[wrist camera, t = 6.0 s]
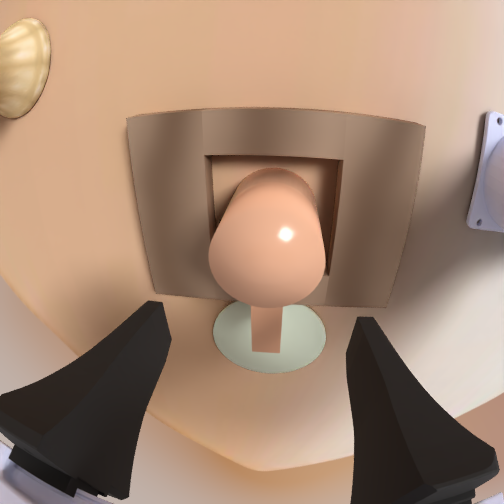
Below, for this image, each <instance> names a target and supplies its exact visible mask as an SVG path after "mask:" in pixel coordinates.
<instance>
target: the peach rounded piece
mask: <svg viewBox="0 0 504 504" xmlns="http://www.w3.org/2000/svg"><path fill="white" fill-rule="evenodd" d="M208 255H209V265H210V269H211V272H212V274H213V276H214V278H215V280H216V281H217V283H218V284H219V285H220V287H221V288H222V289H223V290H224V291H225V292H227V293H228V294H229V295H230V296H232V297H233V298H235V299H237V300H238V301H240V302H243V303H245V304H248V305H251V336H252V352H266V353H280V343H281V329H282V314H283V307H284V306H288V305H291V304H294V303H296V302H299V301H300V300H302V299H304V298H305V297H307V296H308V295H309V294H310V293H311V292H312V291H313V290H314V289H315V288H316V287H317V285H318V284H319V282H320V281H321V279H322V276H323V274H324V270H325V261H326V259H325V251H324V245H323V239H322V233H321V228H320V222H319V217H318V211H317V206H316V201H315V197H314V194H313V192H312V190H311V188H310V187H309V185H308V184H307V183H306V182H305V181H304V180H303V179H302V178H301V177H300V176H298V175H297V174H295V173H293V172H291V171H288V170H285V169H281V168H266V169H261V170H258V171H256V172H253V173H252V174H250V175H248V176H247V177H246V178H245V179H244V180H243V181H242V182H241V183H240V184H239V186H238V187H237V189H236V191H235V193H234V195H233V197H232V199H231V201H230V203H229V205H228V207H227V209H226V211H225V213H224V215H223V217H222V220H221V222H220V224H219V226H218V228H217V230H216V232H215V234H214V236H213V238H212V240H211V243H210V247H209V254H208Z"/></svg>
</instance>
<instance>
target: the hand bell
mask: <svg viewBox="0 0 504 504" xmlns="http://www.w3.org/2000/svg"><path fill="white" fill-rule="evenodd" d="M50 56H51V47H50V39H49V35H48V32H47V30H46V28H45V27H44V25H43V24H42V23H41V22H40V21H38V20H37V19H34V18H25V19H22V20H19V21H17V22H16V23H14V24H12V25H11V26H10V27H9V28H7V29H6V30H5V31H4V33H3V34H2V35H1V36H0V115H2V116H4V117H7V118H18V117H20V116H23V115H24V114H26V113H27V112H28V111H29V110H30V109H31V108H32V107H33V106H34V104H35V103H36V101H37V100H38V98H39V96H40V95H41V93H42V91H43V88H44V86H45V83H46V80H47V77H48V72H49V67H50Z"/></svg>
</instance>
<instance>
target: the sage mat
mask: <svg viewBox="0 0 504 504" xmlns="http://www.w3.org/2000/svg"><path fill="white" fill-rule="evenodd" d="M213 336H214V341H215V343H216V345H217V347H218V349H219V350H220V351H221V353H222V354H223V355H224V356H225V357H226V358H228V359H229V360H230V361H232V362H233V363H235V364H237V365H239V366H241V367H243V368H246V369H248V370H252V371H256V372H261V373H285V372H290V371H294V370H297V369H300V368H302V367H305V366H306V365H308V364H310V363H311V362H312V361H314V360H315V359H316V358H317V357H318V356H319V355H320V353H321V352H322V350H323V348H324V345H325V341H326V333H325V328H324V324H323V322H322V320H321V319H320V317H319V316H318V315H317V314H316V313H315V312H314V311H313V310H312V309H311V308H309V307H308V306H306V305H292V304H291V305H288V306H284V307H283V314H282V329H281V343H280V353H266V352H252V336H251V305H248V304H245V303H243V302H240V301H234V302H233V303H231V304H229V305H228V306H226V307H225V308H224V309H223V310H222V311H221V312H220V313H219V315H218V317H217V318H216V321H215V324H214V328H213Z"/></svg>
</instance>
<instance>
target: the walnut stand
mask: <svg viewBox="0 0 504 504" xmlns="http://www.w3.org/2000/svg"><path fill="white" fill-rule="evenodd" d="M126 120H127V131H128V140H129V149H130V157H131V165H132V172H133V179H134V186H135V192H136V199H137V205H138V211H139V216H140V222H141V227H142V232H143V238H144V243H145V247H146V252H147V257H148V262H149V266H150V271H151V275H152V279H153V284H154V288H155V292H156V294H165V295H175V296H185V297H196V298H207V299H219V300H231V301H238V300H237V299H235V298H233V297H232V296H230V295H229V294H228V293H227V292H225V291H224V290H223V289H222V288H221V287H220V285H219V284H218V283H217V281H216V280H215V278H214V276H213V274H212V272H211V269H210V265H209V255H208V254H209V247H210V243H211V240H212V238H213V236H214V234H215V232H216V225H215V211H214V196H213V179H212V161H211V155H270V156H295V157H313V158H327V159H339V162H338V174H337V185H336V195H335V204H334V213H333V222H332V230H331V238H330V245H329V253H328V260H327V263H325V270H324V274H323V276H322V279H321V281H320V282H319V284H318V285H317V287H316V288H315V289H314V290H313V291H312V292H311V293H310V294H309V295H308V296H307V297H305V298H304V299H302V300H300V301H299V302H296V303H294V304H292V305H313V306H338V307H378V308H386V306H387V303H388V300H389V297H390V294H391V291H392V288H393V284H394V281H395V278H396V274H397V271H398V267H399V264H400V260H401V256H402V253H403V249H404V245H405V241H406V237H407V233H408V229H409V224H410V220H411V215H412V211H413V206H414V201H415V196H416V190H417V185H418V179H419V173H420V167H421V160H422V153H423V146H424V138H425V129H426V126H423V125H421V124H418V123H415V122H410V121H404V120H399V119H393V118H386V117H380V116H373V115H365V114H357V113H349V112H339V111H328V110H315V109H299V108H270V107H236V108H208V109H191V110H178V111H167V112H158V113H149V114H141V115H136V116H132V117H129V118H126Z"/></svg>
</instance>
